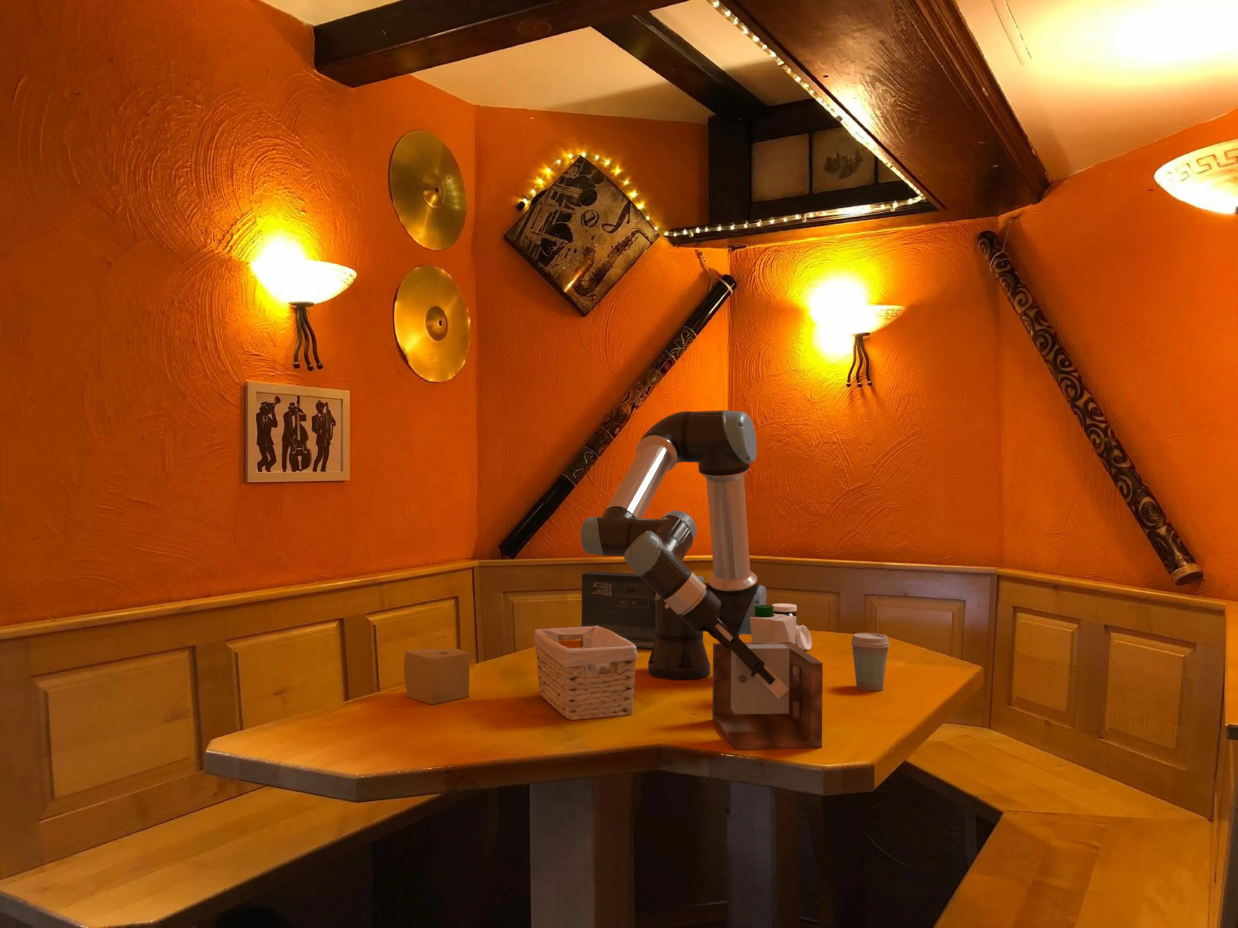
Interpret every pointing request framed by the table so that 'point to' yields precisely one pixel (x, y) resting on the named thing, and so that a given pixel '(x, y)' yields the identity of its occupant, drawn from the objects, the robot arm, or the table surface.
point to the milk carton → (772, 626)
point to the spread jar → (801, 631)
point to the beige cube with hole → (436, 675)
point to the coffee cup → (870, 660)
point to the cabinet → (772, 728)
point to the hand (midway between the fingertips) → (779, 690)
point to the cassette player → (620, 606)
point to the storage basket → (586, 672)
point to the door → (750, 690)
